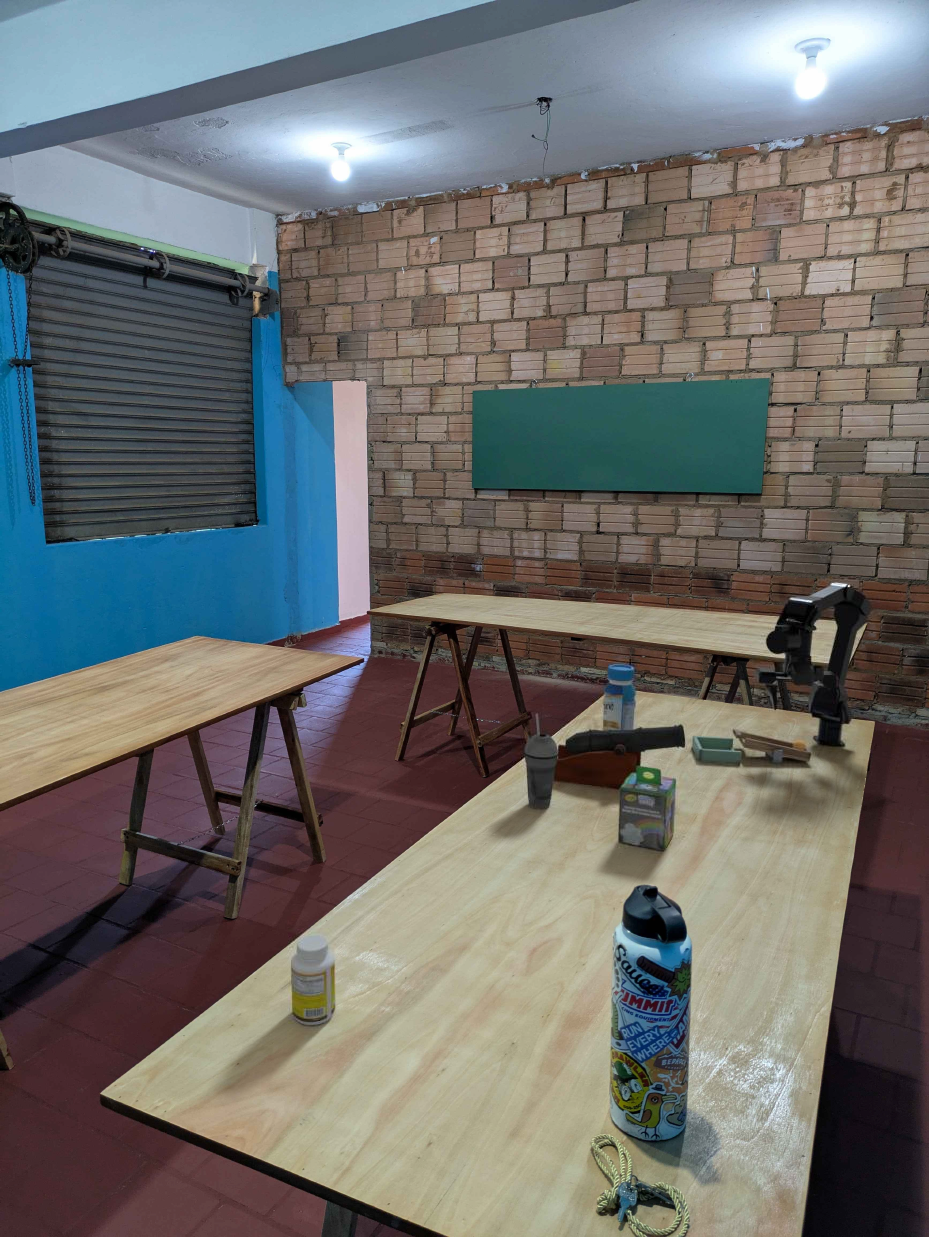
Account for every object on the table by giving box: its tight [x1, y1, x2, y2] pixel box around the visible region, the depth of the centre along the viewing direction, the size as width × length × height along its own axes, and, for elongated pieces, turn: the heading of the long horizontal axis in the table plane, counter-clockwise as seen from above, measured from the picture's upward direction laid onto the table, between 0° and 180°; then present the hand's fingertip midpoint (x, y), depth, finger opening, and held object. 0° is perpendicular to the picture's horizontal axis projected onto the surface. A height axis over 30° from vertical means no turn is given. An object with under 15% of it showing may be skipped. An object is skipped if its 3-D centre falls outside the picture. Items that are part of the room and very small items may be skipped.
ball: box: [792, 740, 807, 751], centre depth 210 cm, size 3×3×3 cm
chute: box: [732, 728, 812, 763], centre depth 214 cm, size 12×16×2 cm
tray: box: [691, 735, 742, 765], centre depth 213 cm, size 11×10×3 cm
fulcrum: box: [764, 749, 783, 765], centre depth 211 cm, size 8×2×4 cm, turn 173°
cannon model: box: [553, 723, 686, 791], centre depth 193 cm, size 13×30×15 cm, turn 72°
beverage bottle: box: [602, 663, 637, 731], centre depth 221 cm, size 8×8×20 cm
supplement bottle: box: [290, 933, 336, 1026], centre depth 110 cm, size 6×6×10 cm
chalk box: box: [617, 765, 677, 852], centre depth 163 cm, size 9×9×15 cm
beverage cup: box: [523, 713, 558, 810], centre depth 178 cm, size 7×7×20 cm
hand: (792, 710), depth 211 cm, fingers open, 8 cm apart
